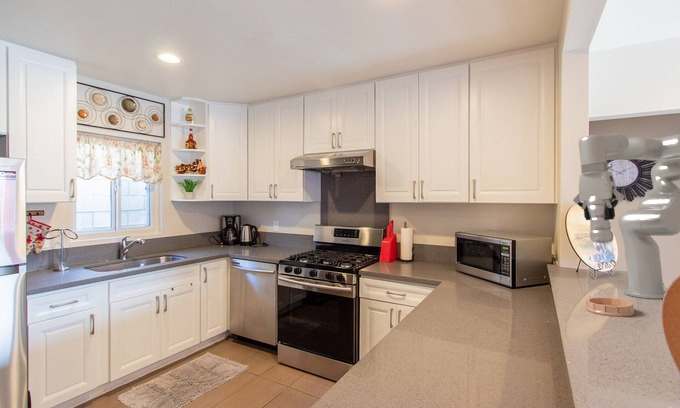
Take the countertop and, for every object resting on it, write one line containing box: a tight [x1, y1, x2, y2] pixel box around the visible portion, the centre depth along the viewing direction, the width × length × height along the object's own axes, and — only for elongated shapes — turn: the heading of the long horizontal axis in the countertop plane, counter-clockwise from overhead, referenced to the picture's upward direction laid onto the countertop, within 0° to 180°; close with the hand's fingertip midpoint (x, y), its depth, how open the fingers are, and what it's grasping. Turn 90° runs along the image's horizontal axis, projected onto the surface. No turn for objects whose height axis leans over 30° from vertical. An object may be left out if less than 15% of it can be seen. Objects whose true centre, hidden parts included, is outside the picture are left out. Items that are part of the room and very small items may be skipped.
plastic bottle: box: [586, 196, 614, 244], centre depth 117 cm, size 6×7×20 cm
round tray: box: [585, 296, 635, 318], centre depth 106 cm, size 12×12×3 cm
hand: (599, 219), depth 117 cm, fingers closed on plastic bottle, 6 cm apart
